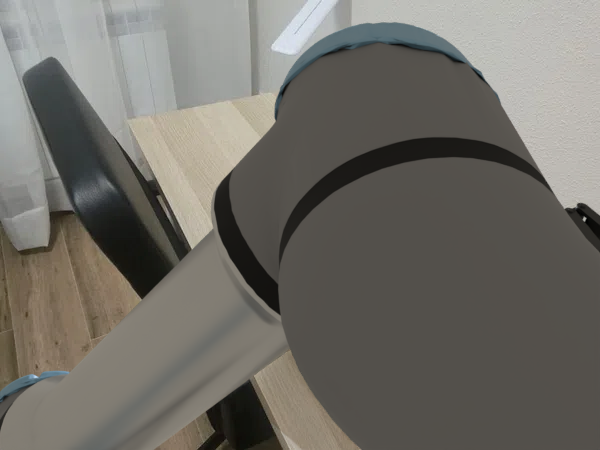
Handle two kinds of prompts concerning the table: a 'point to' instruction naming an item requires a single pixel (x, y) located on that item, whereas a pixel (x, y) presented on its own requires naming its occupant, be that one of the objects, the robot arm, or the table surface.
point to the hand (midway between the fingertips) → (471, 222)
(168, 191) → the table surface
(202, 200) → the table surface
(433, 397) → the robot arm
